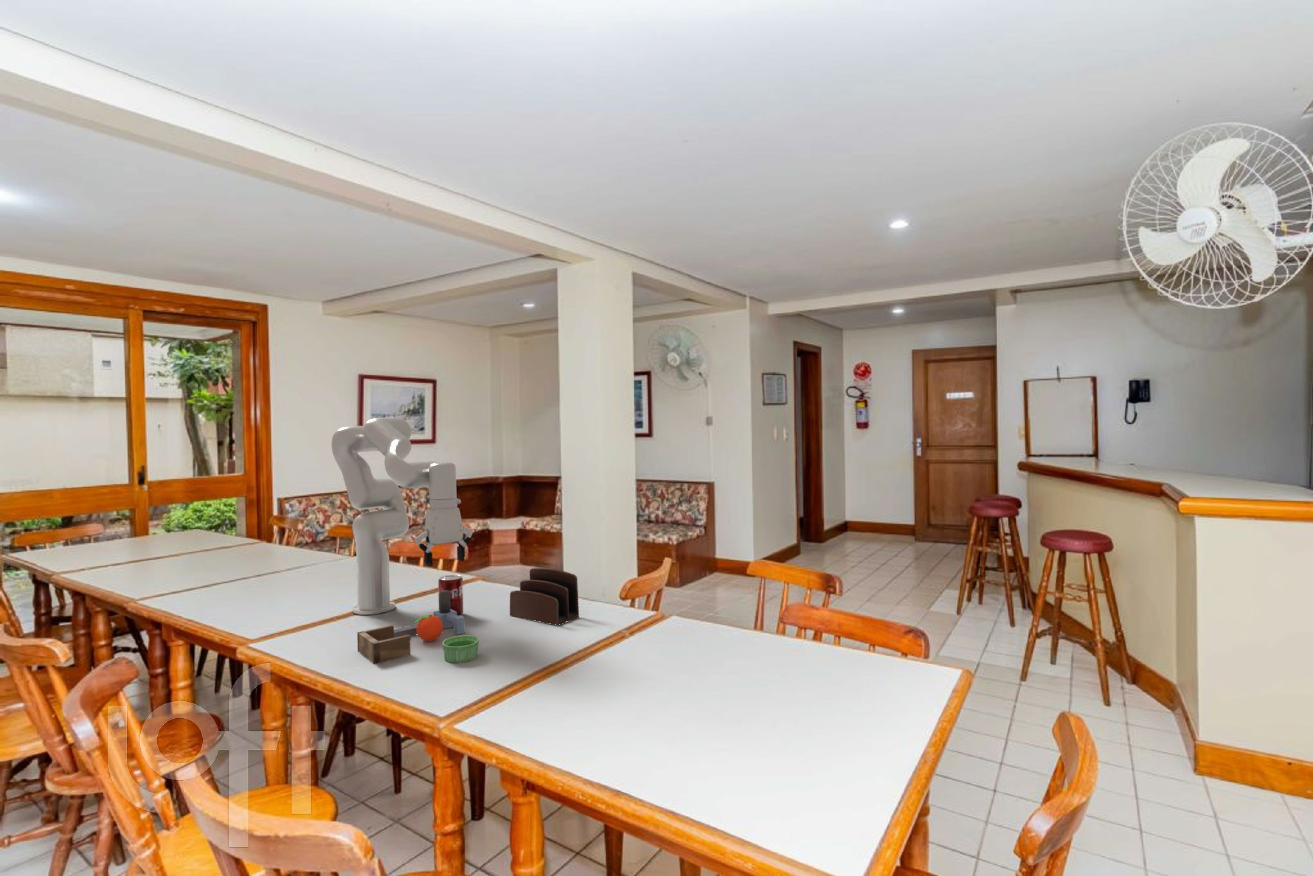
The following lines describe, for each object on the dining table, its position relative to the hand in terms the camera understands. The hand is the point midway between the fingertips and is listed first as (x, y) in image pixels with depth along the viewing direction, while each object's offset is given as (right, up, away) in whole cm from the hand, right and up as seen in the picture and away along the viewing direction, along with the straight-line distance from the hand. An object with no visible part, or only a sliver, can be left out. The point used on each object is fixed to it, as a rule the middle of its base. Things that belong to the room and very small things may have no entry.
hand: (445, 562), depth 189 cm
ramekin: (+12, -20, -25) cm, 34 cm away
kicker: (+2, -19, -2) cm, 19 cm away
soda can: (-2, -19, +11) cm, 22 cm away
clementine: (-1, -19, -12) cm, 23 cm away
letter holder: (+27, -19, +9) cm, 34 cm away
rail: (-6, -19, -5) cm, 20 cm away
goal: (-9, -19, -21) cm, 30 cm away
